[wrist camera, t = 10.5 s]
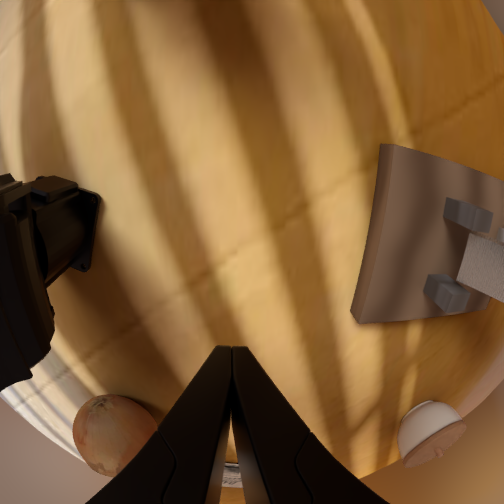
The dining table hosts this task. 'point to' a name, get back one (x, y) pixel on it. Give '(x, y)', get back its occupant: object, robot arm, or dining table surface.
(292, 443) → the robot arm
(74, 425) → the onion
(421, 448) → the lidded jar
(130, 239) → the dining table surface
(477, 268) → the lever
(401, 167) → the lever base
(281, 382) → the dining table surface
